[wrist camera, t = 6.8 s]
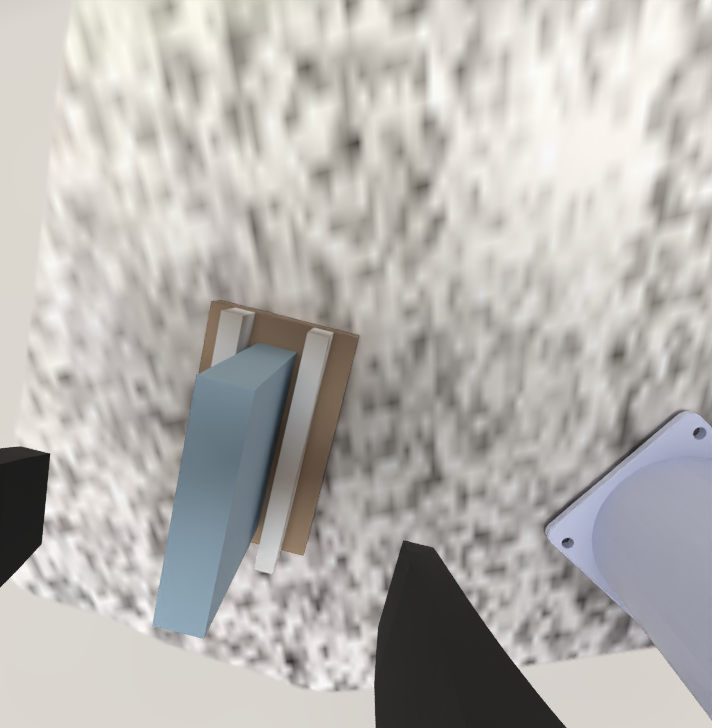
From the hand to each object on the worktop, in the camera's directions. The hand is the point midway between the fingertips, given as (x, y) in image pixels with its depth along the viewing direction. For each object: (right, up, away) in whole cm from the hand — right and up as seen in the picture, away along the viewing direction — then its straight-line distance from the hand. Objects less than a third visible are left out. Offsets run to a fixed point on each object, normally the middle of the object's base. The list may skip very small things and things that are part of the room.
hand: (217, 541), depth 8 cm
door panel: (-1, 0, +10) cm, 10 cm away
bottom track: (-1, +1, +10) cm, 11 cm away
